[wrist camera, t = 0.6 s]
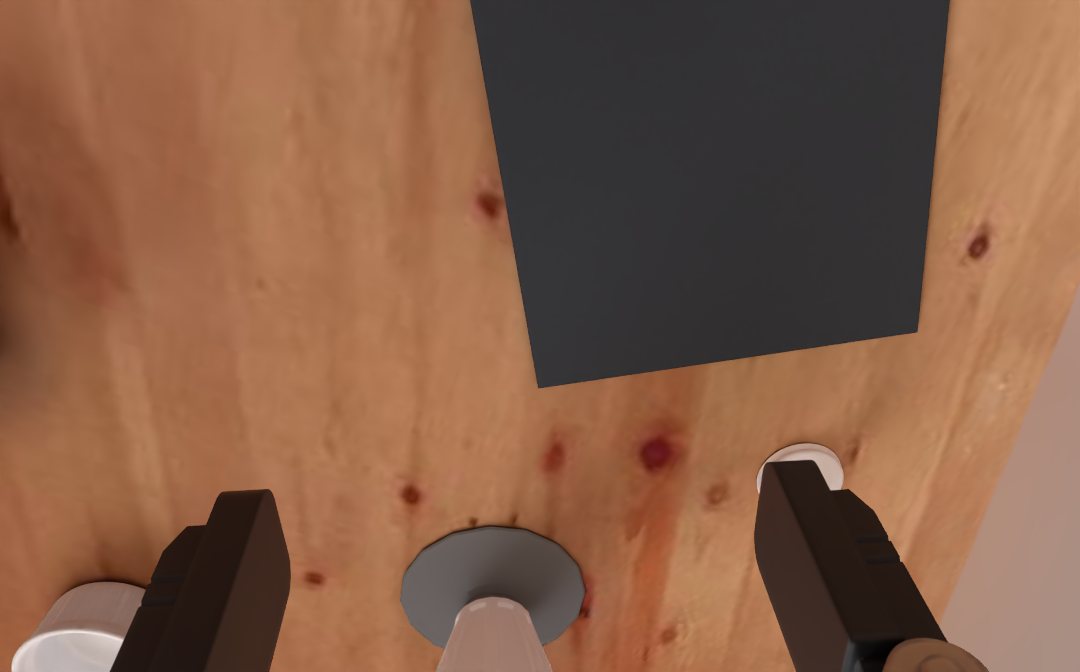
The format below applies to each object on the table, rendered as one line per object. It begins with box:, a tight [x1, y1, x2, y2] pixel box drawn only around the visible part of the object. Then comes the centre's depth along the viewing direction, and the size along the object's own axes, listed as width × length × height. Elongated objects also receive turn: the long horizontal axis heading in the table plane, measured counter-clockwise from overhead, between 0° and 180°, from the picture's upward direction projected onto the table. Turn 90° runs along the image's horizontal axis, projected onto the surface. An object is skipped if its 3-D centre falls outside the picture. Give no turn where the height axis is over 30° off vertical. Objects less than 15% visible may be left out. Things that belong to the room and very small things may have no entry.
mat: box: [470, 0, 950, 388], centre depth 40 cm, size 20×20×1 cm
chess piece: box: [757, 443, 844, 494], centre depth 45 cm, size 5×5×10 cm
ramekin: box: [12, 582, 146, 672], centre depth 51 cm, size 9×9×4 cm
